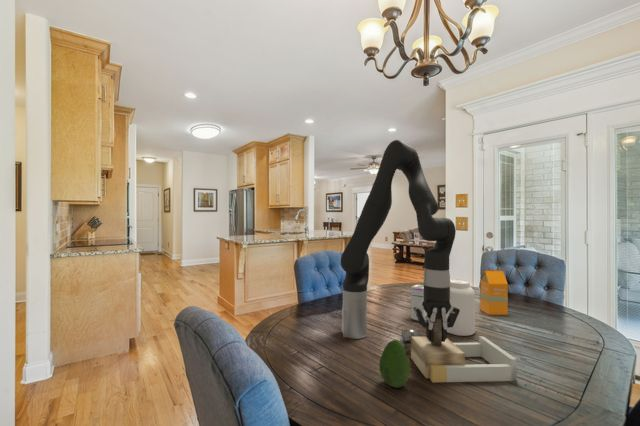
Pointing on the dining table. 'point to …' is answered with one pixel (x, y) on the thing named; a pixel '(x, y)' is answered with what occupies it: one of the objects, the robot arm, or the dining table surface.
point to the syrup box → (417, 300)
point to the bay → (478, 365)
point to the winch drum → (408, 338)
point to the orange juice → (494, 293)
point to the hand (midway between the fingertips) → (436, 340)
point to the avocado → (394, 364)
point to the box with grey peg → (435, 351)
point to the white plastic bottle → (462, 307)
